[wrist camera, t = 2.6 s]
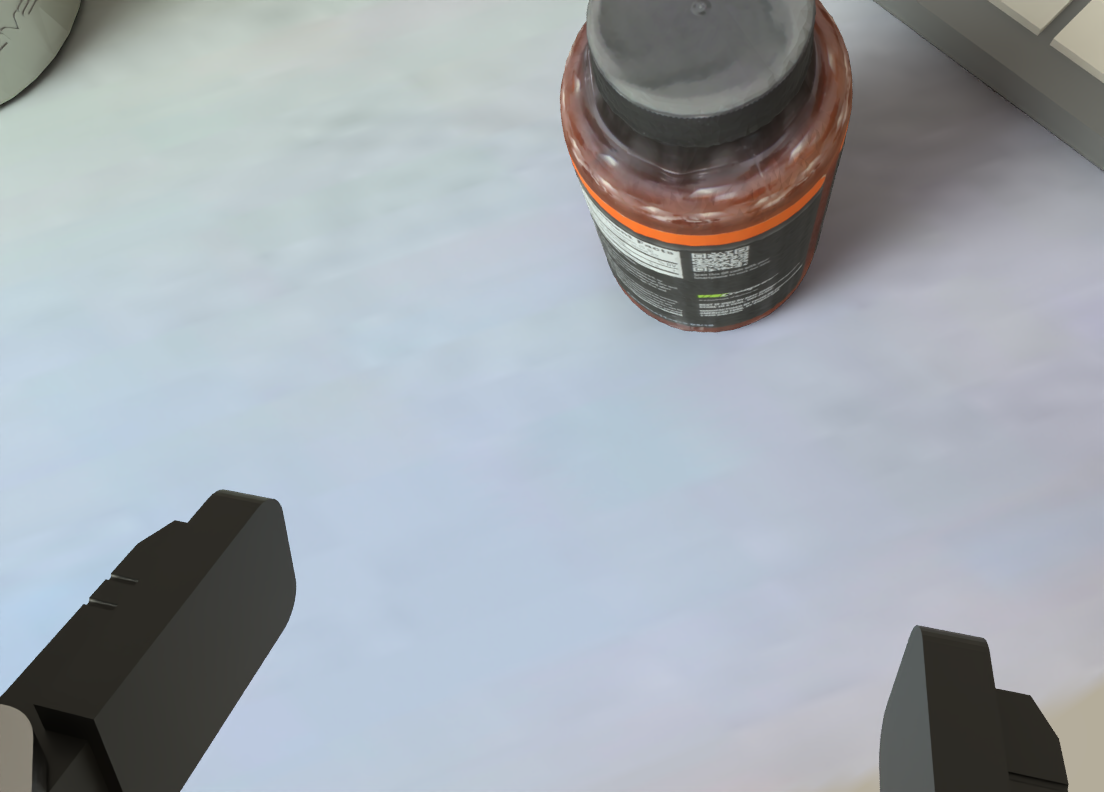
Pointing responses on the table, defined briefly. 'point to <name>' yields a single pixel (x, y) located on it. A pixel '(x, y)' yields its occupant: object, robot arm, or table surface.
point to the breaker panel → (1026, 57)
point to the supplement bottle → (707, 148)
